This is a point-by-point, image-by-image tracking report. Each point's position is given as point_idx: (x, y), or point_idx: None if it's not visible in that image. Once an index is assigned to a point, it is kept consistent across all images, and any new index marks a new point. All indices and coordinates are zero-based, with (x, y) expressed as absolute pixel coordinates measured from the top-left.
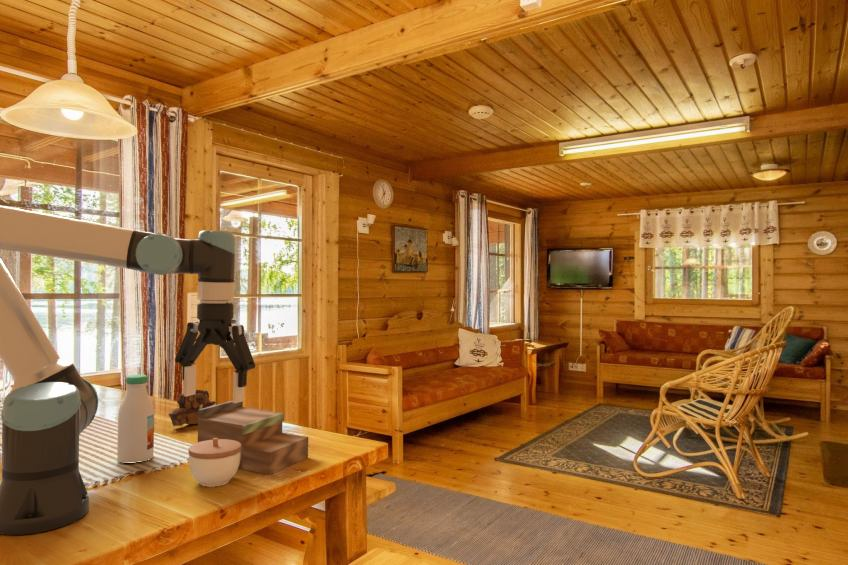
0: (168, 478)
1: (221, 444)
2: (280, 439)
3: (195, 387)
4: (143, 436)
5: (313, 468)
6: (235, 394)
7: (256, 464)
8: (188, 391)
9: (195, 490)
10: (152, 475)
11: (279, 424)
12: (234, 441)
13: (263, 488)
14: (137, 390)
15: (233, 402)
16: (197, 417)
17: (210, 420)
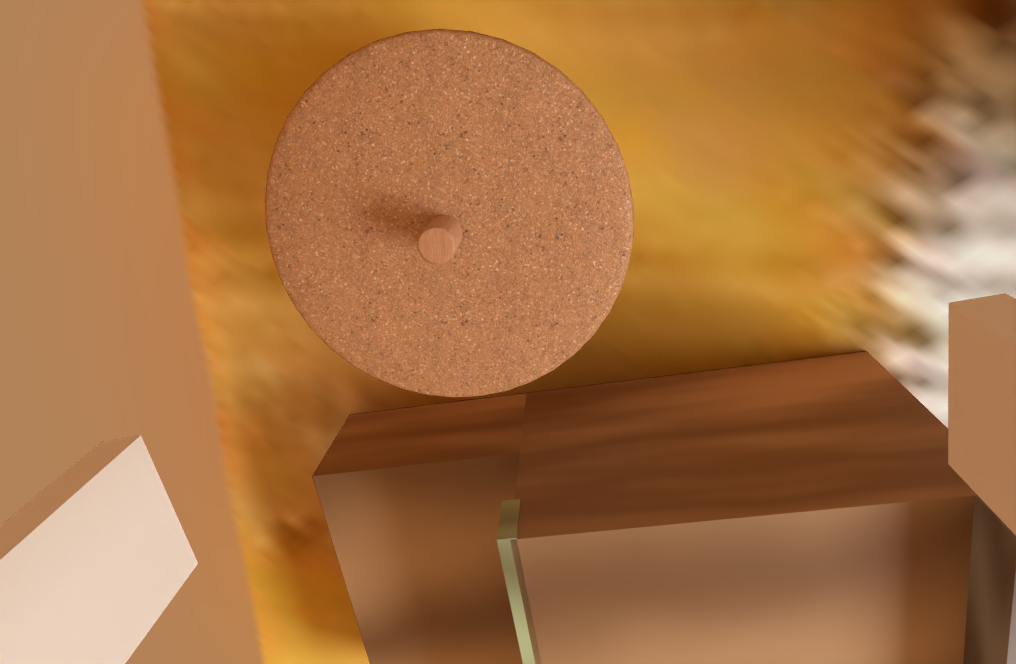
0: (740, 52)
1: (431, 273)
2: (473, 650)
3: (1007, 522)
4: None
5: (277, 572)
6: (24, 506)
7: (428, 422)
8: (988, 369)
9: None
10: (873, 17)
11: None
12: (431, 374)
13: (215, 277)
14: None
15: (123, 440)
16: None
17: (859, 503)
